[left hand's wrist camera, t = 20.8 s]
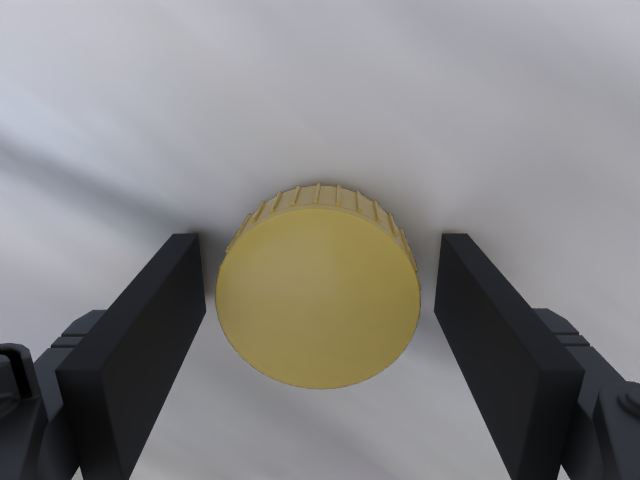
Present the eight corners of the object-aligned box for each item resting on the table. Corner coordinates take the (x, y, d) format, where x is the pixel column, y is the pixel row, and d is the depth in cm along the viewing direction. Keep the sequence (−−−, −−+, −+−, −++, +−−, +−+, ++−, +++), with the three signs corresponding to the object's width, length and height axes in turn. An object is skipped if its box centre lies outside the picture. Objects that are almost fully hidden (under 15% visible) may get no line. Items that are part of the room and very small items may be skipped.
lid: (232, 173, 13) (210, 195, 11) (426, 191, 13) (442, 217, 11) (230, 336, 15) (212, 381, 13) (397, 353, 15) (406, 401, 13)
